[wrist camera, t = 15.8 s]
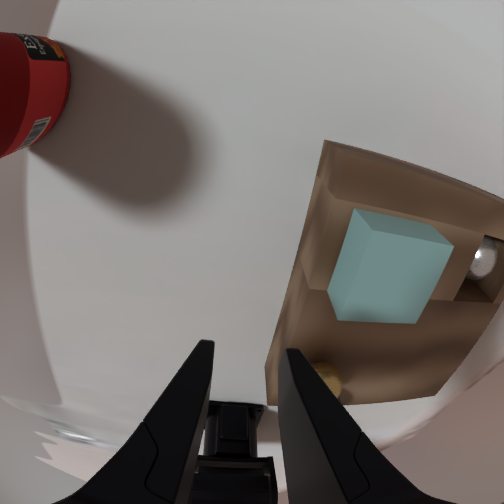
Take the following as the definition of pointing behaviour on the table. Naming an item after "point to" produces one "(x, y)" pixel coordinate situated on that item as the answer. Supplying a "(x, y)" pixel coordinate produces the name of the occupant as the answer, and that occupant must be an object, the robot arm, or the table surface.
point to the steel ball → (483, 259)
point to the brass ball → (330, 376)
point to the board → (389, 334)
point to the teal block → (386, 268)
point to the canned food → (30, 89)
